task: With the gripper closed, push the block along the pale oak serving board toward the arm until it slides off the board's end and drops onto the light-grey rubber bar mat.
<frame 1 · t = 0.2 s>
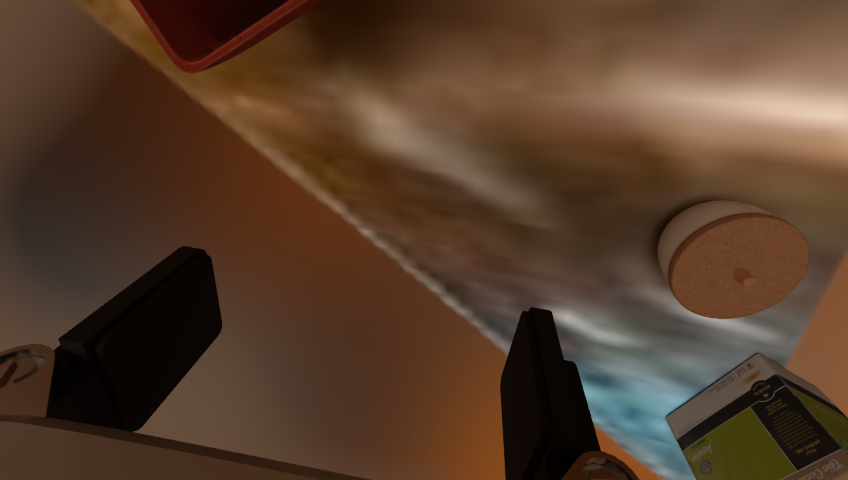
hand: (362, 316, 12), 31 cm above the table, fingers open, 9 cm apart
tea box: (735, 398, 52), on the table
lidded jar: (695, 231, 42), on the table
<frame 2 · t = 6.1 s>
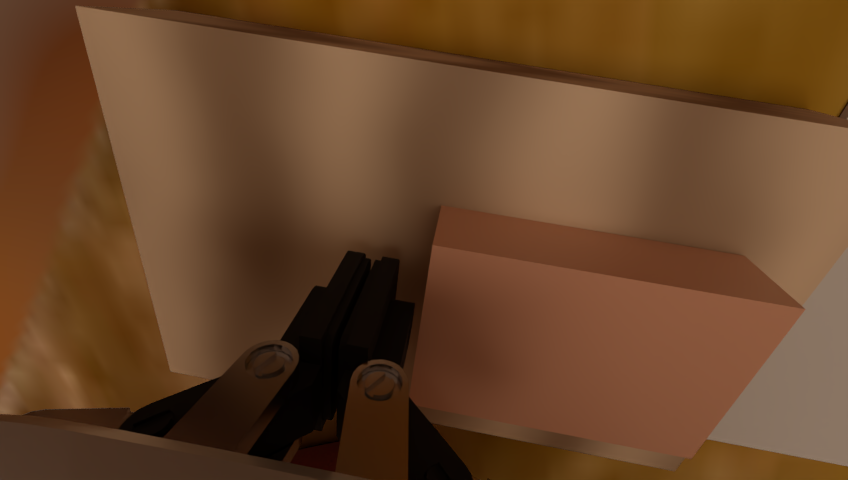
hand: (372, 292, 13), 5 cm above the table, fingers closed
block: (560, 308, 13), point 4 cm above the table, touching board, gripper
board: (448, 235, 17), on the table
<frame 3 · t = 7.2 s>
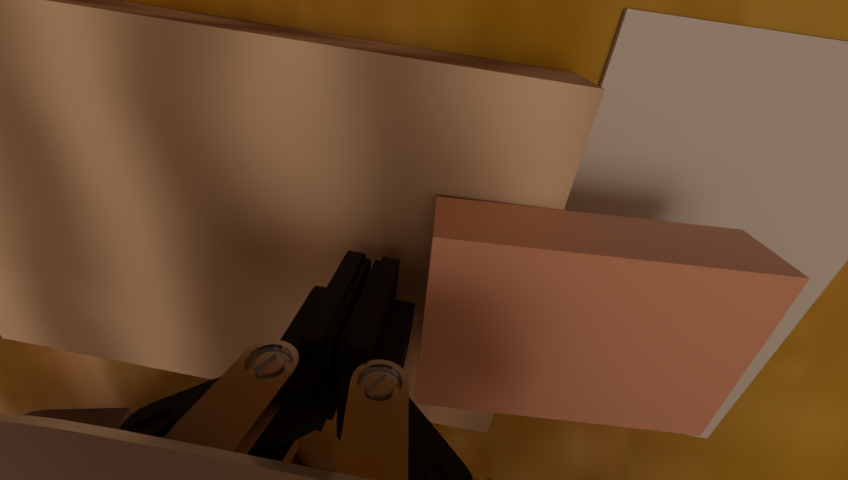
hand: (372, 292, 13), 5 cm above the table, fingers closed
bar mat: (674, 274, 17), on the table
block: (562, 294, 13), point 4 cm above the table, touching gripper
board: (271, 203, 17), on the table
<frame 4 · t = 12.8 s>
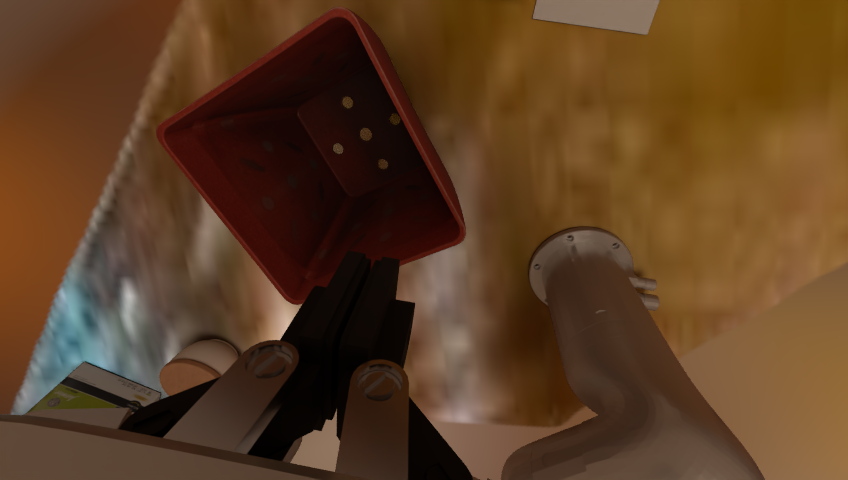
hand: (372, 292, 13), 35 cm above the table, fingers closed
tea box: (123, 390, 77), on the table
plant pot: (365, 134, 46), on the table
lidded jar: (221, 351, 68), on the table
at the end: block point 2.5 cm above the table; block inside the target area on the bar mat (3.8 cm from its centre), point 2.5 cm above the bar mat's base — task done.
